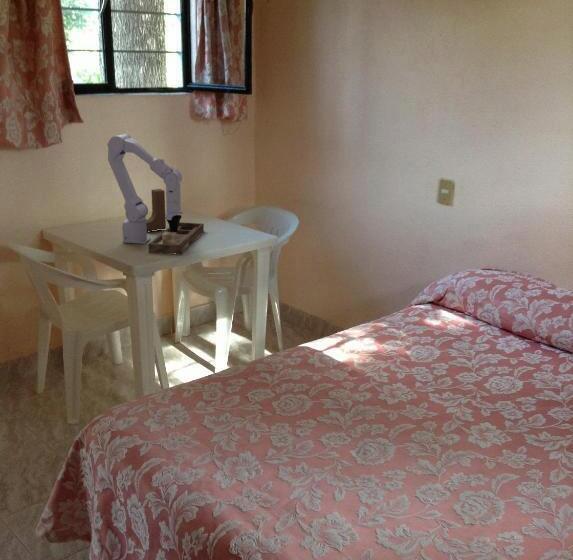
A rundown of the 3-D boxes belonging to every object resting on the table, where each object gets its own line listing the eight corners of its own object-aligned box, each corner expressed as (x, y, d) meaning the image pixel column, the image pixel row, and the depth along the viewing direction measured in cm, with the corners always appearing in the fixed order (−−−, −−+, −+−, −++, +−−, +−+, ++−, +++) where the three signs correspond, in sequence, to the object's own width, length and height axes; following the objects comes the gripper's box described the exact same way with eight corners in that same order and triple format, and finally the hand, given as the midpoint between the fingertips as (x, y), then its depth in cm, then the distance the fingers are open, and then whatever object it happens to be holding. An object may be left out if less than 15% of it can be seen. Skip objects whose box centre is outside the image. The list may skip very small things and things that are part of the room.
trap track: (149, 252, 262) (148, 243, 260) (175, 229, 296) (175, 221, 295) (180, 254, 260) (180, 245, 259) (203, 231, 295) (203, 223, 294)
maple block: (162, 245, 264) (162, 234, 263) (165, 242, 268) (165, 231, 267) (173, 246, 264) (173, 235, 262) (176, 243, 268) (176, 232, 266)
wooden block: (147, 232, 290) (145, 192, 284) (143, 230, 293) (141, 190, 287) (166, 230, 295) (164, 190, 289) (161, 228, 298) (160, 188, 292)
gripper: (178, 205, 260) (178, 238, 265) (187, 197, 274) (188, 229, 278) (160, 203, 261) (161, 237, 265) (171, 196, 275) (171, 228, 279)
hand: (174, 233), depth 272 cm, fingers closed
